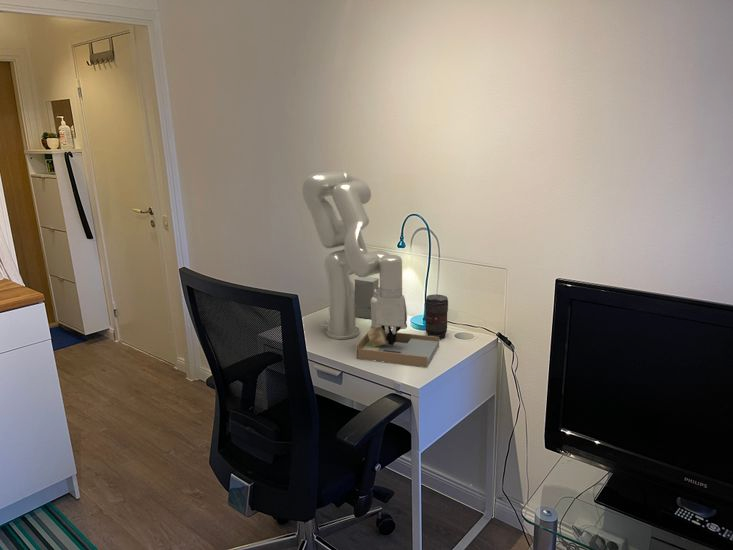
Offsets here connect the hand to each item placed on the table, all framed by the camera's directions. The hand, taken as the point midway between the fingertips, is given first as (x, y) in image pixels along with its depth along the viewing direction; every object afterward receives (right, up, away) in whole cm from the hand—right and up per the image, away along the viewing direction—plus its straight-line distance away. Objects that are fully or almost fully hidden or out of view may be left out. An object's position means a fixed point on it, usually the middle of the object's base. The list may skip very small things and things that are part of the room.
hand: (391, 343), depth 192 cm
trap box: (+2, -3, 0) cm, 4 cm away
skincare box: (-8, +7, +37) cm, 38 cm away
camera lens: (+17, +1, +13) cm, 22 cm away
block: (-4, 0, +1) cm, 4 cm away
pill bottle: (-3, +3, +23) cm, 24 cm away
